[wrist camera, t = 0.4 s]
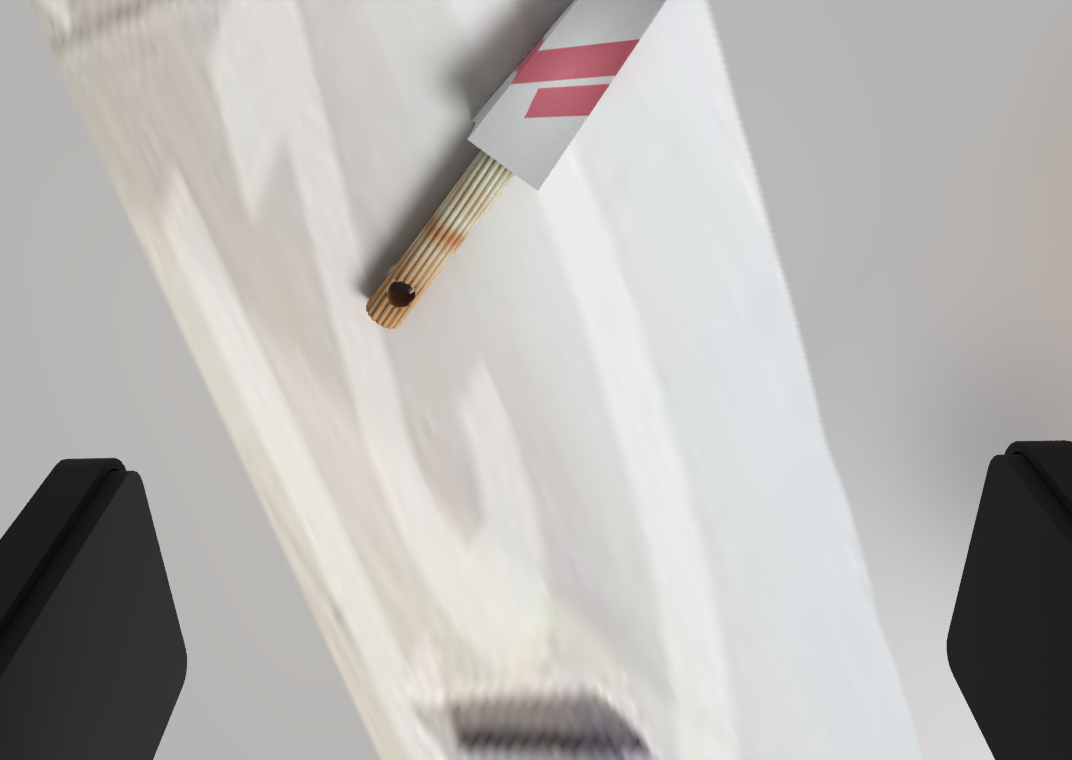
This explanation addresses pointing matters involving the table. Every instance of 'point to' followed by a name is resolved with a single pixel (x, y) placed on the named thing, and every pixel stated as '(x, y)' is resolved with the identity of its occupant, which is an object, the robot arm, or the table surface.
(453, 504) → the table surface
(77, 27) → the table surface
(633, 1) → the paintbrush
